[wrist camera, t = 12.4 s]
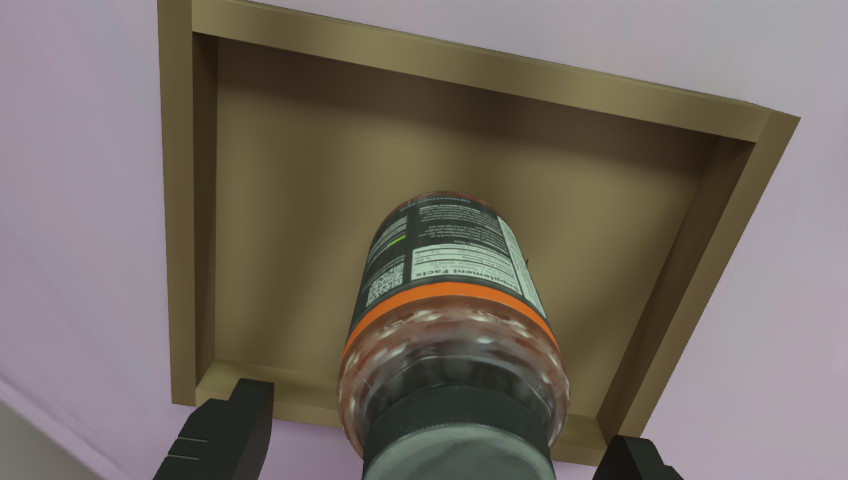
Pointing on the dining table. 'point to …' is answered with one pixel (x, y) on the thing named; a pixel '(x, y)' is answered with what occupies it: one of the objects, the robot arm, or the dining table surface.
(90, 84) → the dining table surface
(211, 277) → the serving tray
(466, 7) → the dining table surface
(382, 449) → the supplement bottle
